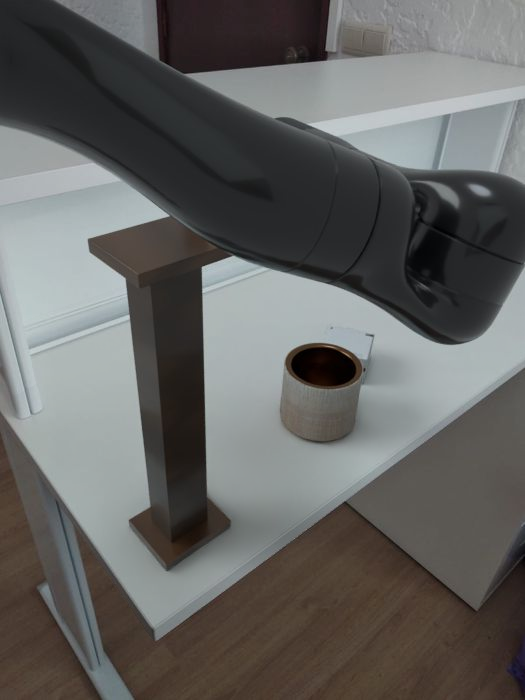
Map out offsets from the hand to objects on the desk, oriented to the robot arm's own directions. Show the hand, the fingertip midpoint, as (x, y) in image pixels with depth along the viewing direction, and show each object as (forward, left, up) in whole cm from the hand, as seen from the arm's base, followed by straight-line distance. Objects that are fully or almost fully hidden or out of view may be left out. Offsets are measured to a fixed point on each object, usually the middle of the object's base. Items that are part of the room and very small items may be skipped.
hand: (208, 126), depth 58 cm
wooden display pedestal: (-8, -16, -40) cm, 44 cm away
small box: (+24, +7, -41) cm, 47 cm away
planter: (+15, -3, -40) cm, 43 cm away
